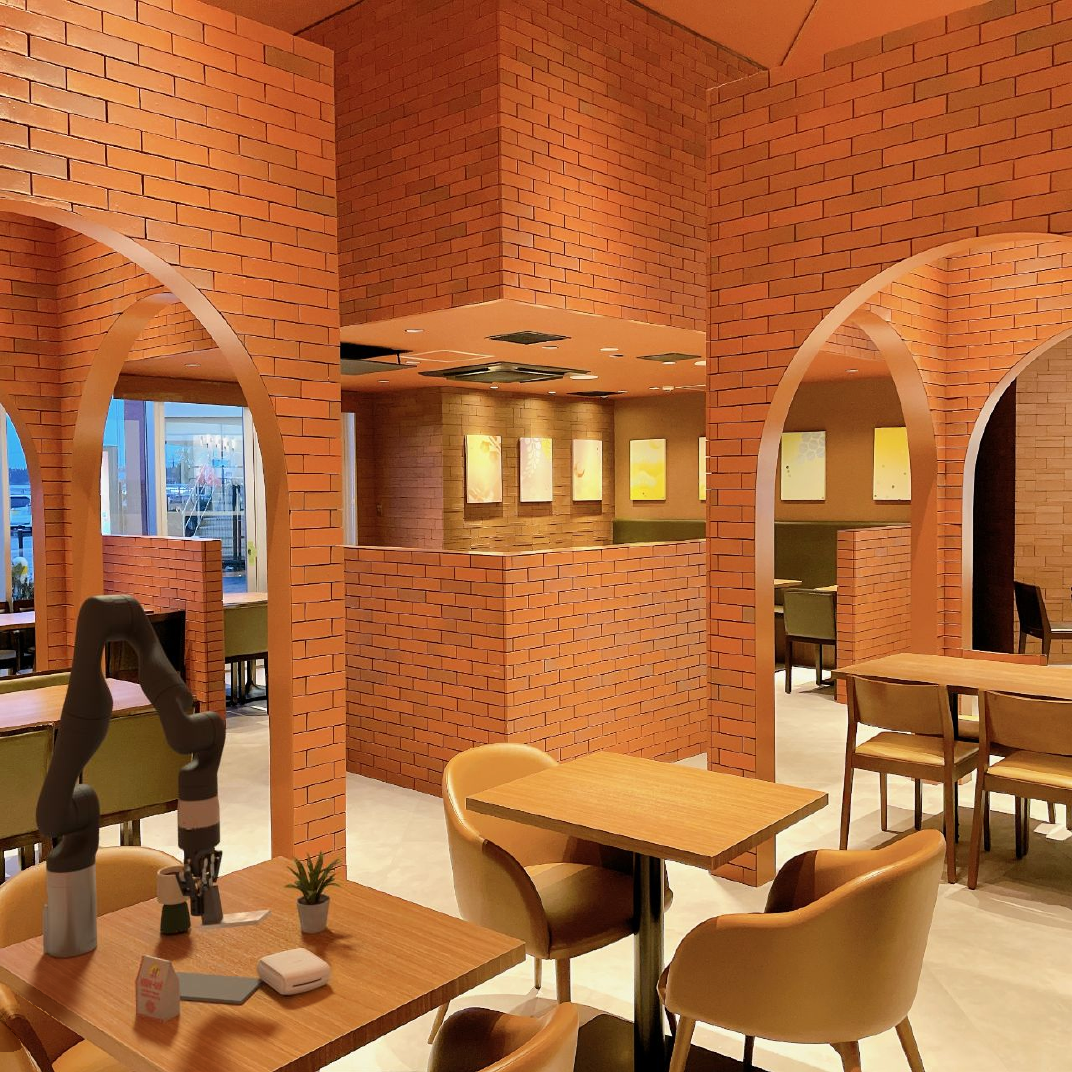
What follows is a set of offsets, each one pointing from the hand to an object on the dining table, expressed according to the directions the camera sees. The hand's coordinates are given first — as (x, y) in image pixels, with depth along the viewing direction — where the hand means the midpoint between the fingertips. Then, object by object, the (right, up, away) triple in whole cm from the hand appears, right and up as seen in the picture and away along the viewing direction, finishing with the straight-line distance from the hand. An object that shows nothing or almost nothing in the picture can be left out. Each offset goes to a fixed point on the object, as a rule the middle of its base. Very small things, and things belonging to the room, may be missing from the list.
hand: (200, 912), depth 189 cm
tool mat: (+2, -14, 0) cm, 14 cm away
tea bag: (-4, -15, -10) cm, 18 cm away
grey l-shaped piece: (+7, -1, -1) cm, 7 cm away
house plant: (+16, -14, +26) cm, 34 cm away
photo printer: (+13, -12, +6) cm, 19 cm away
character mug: (-14, -14, +27) cm, 34 cm away
